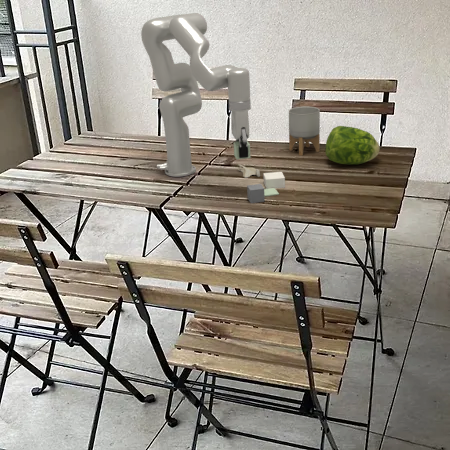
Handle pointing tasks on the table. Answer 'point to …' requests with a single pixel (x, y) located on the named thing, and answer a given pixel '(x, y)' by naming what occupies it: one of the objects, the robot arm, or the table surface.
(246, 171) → the fossil
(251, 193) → the gray cube
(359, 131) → the green rounded lump
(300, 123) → the planter
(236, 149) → the sage cube
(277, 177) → the base block
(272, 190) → the swatch
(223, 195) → the table surface
